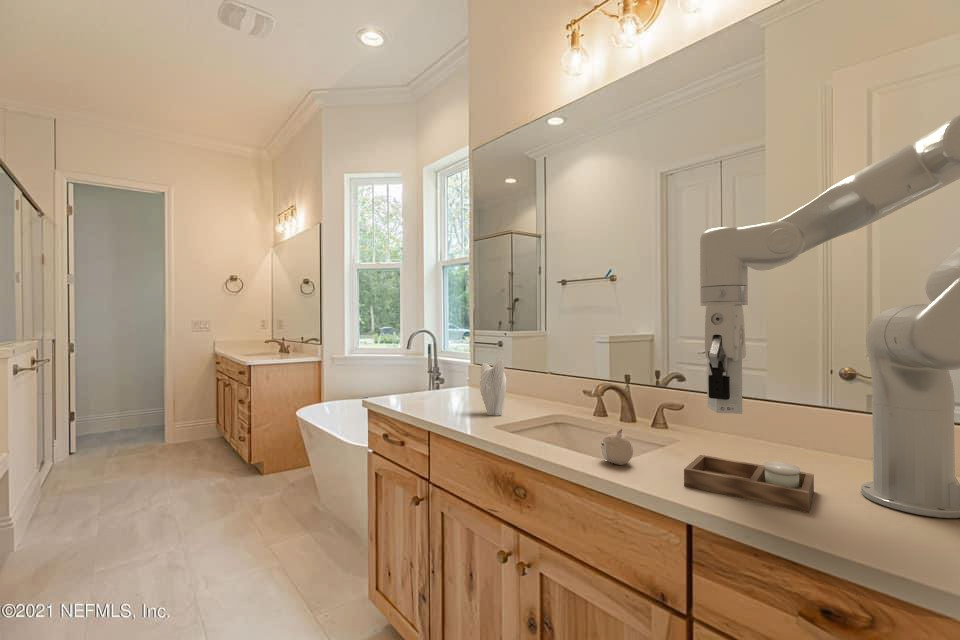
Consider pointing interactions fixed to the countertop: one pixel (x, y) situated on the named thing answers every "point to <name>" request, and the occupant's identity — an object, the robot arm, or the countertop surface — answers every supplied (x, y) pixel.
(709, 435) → the countertop surface
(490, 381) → the shell sculpture
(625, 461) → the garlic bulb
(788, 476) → the cream jar
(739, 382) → the skincare box
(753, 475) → the walnut caddy
